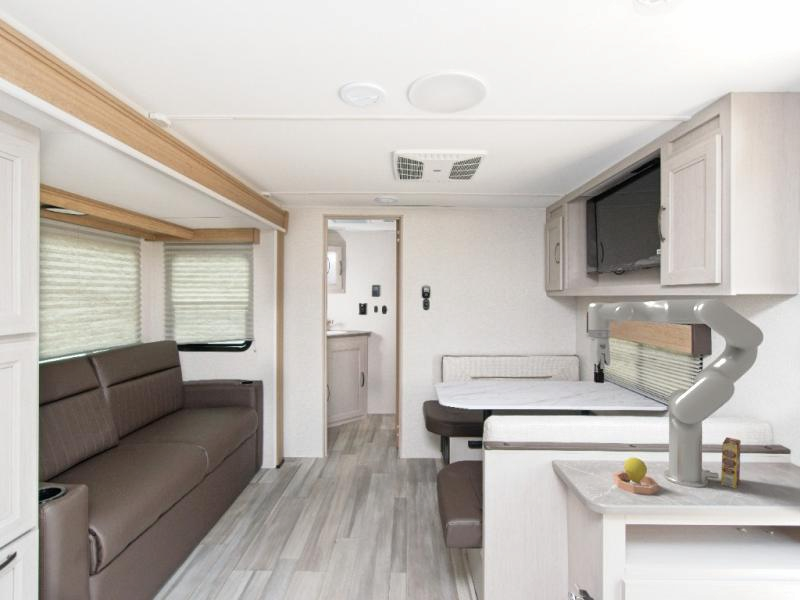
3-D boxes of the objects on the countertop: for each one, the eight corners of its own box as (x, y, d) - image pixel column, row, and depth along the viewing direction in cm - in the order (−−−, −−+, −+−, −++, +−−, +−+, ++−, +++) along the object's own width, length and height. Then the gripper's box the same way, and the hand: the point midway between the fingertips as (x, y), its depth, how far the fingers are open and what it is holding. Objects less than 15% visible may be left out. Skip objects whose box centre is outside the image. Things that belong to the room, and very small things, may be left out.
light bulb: (642, 484, 139) (642, 455, 139) (650, 493, 133) (650, 462, 133) (621, 482, 140) (621, 453, 140) (628, 491, 134) (628, 461, 134)
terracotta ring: (647, 481, 141) (647, 473, 141) (662, 498, 129) (662, 489, 129) (610, 478, 143) (610, 470, 143) (621, 494, 132) (621, 485, 132)
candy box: (737, 491, 134) (737, 445, 134) (720, 487, 137) (720, 442, 137) (740, 483, 140) (740, 439, 140) (725, 479, 143) (725, 436, 143)
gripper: (615, 336, 146) (615, 387, 146) (603, 333, 161) (603, 379, 161) (593, 336, 148) (593, 386, 148) (583, 332, 162) (583, 378, 162)
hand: (598, 382), depth 154 cm, fingers closed
